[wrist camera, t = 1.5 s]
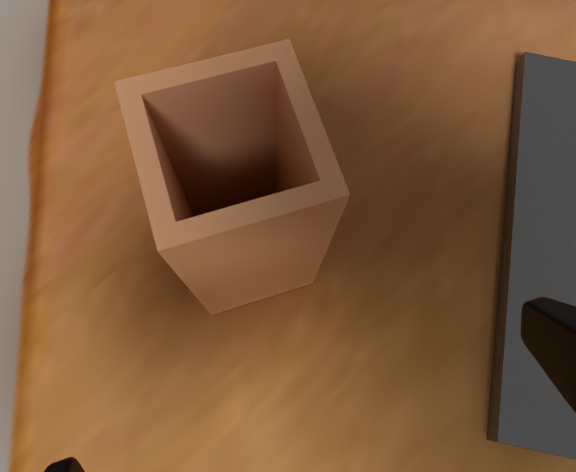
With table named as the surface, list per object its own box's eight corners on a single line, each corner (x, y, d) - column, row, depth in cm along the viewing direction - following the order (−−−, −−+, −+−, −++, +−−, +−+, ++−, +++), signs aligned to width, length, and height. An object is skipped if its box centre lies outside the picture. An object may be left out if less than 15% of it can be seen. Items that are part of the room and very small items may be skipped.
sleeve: (313, 283, 23) (350, 194, 12) (211, 315, 22) (157, 251, 12) (281, 190, 24) (289, 38, 14) (184, 218, 23) (114, 81, 13)
